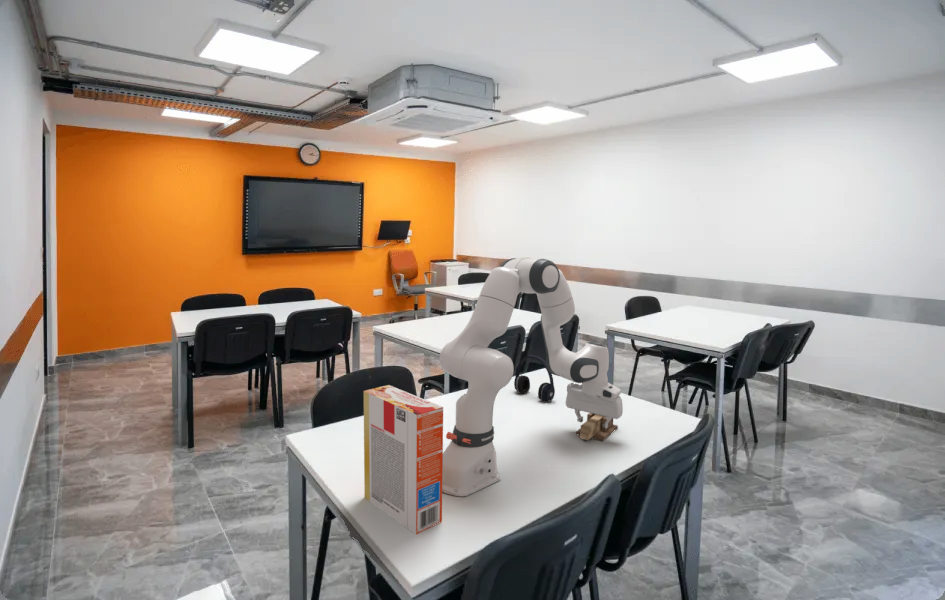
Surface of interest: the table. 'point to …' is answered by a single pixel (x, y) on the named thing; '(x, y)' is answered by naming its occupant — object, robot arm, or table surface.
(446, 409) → the table surface
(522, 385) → the headphones
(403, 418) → the pasta box
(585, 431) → the bed rail
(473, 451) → the robot arm
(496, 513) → the table surface
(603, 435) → the wooden chair
